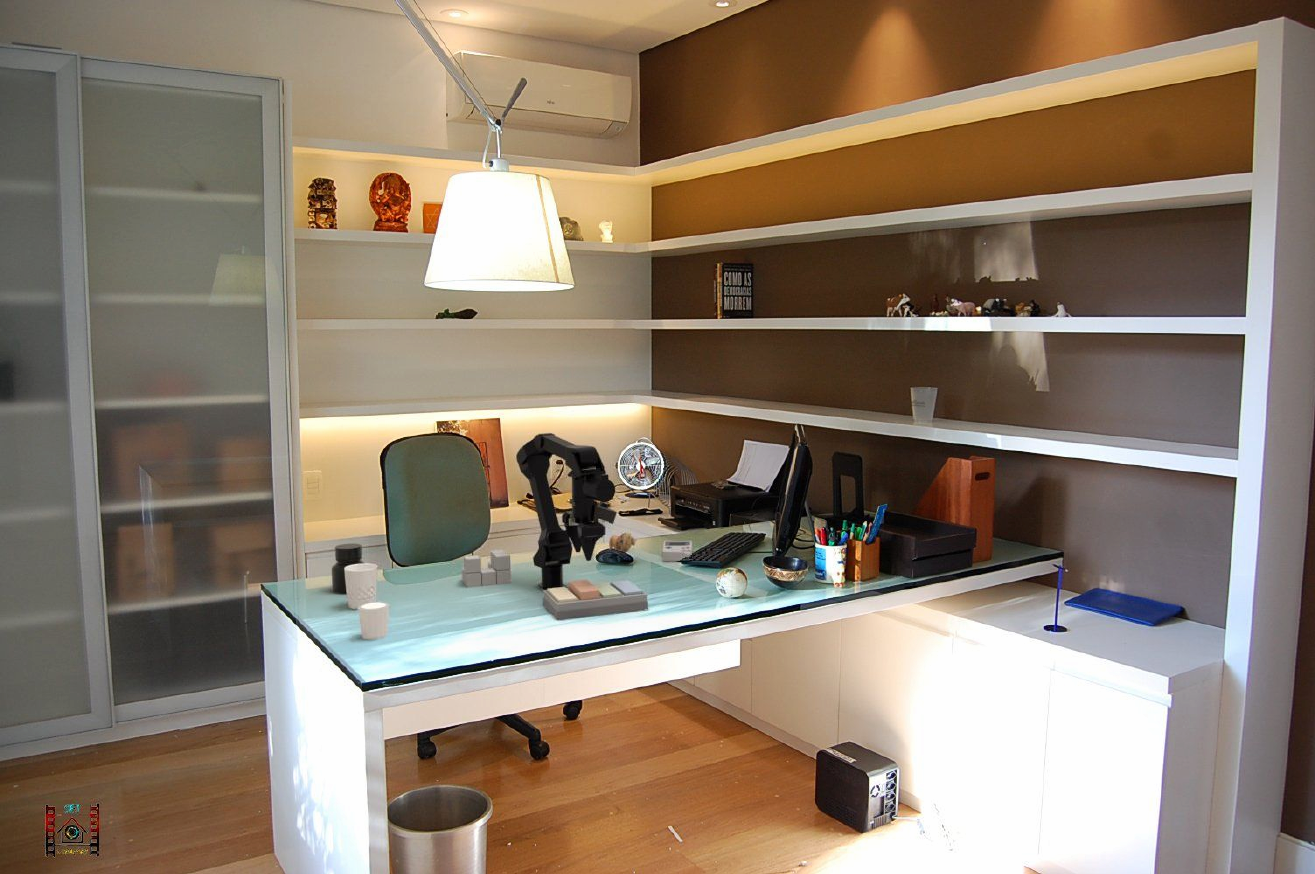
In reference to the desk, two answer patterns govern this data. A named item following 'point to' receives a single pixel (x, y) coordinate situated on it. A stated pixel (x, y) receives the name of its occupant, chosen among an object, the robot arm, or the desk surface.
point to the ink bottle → (344, 564)
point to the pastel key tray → (594, 606)
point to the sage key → (607, 590)
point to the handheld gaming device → (676, 550)
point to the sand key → (561, 595)
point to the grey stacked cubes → (487, 570)
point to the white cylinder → (374, 619)
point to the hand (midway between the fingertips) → (583, 556)
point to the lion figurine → (622, 542)
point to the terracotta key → (583, 590)
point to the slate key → (626, 588)
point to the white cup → (361, 584)
